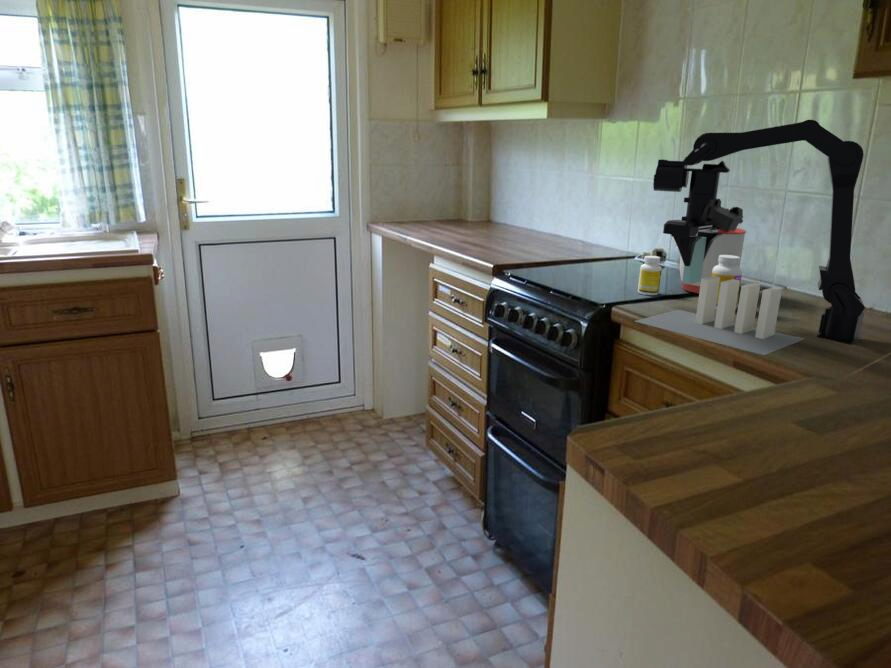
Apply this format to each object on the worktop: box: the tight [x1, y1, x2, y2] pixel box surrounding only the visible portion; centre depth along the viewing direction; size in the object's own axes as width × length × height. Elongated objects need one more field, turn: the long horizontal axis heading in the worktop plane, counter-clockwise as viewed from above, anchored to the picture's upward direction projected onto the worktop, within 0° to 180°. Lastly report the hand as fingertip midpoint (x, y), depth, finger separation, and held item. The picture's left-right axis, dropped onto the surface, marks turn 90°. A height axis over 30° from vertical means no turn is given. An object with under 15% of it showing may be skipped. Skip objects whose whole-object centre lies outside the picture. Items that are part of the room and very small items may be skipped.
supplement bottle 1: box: [637, 255, 663, 296], centre depth 173 cm, size 5×5×10 cm
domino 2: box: [714, 279, 741, 329], centre depth 142 cm, size 2×5×10 cm, turn 130°
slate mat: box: [633, 309, 805, 356], centre depth 141 cm, size 29×18×1 cm, turn 40°
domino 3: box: [734, 282, 761, 334], centre depth 139 cm, size 2×5×10 cm, turn 130°
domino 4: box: [755, 286, 783, 339], centre depth 136 cm, size 2×5×10 cm, turn 130°
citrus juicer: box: [675, 227, 747, 295], centre depth 176 cm, size 16×17×20 cm
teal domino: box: [681, 237, 707, 284], centre depth 146 cm, size 2×5×10 cm, turn 130°
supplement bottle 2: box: [712, 255, 743, 311], centre depth 158 cm, size 7×7×13 cm
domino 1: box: [695, 276, 720, 324], centre depth 145 cm, size 2×5×10 cm, turn 130°
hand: (693, 264), depth 147 cm, fingers closed on teal domino, 5 cm apart
